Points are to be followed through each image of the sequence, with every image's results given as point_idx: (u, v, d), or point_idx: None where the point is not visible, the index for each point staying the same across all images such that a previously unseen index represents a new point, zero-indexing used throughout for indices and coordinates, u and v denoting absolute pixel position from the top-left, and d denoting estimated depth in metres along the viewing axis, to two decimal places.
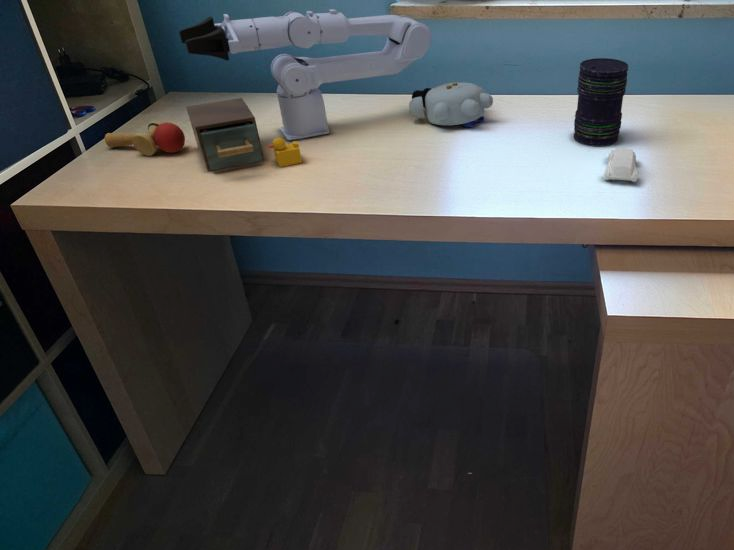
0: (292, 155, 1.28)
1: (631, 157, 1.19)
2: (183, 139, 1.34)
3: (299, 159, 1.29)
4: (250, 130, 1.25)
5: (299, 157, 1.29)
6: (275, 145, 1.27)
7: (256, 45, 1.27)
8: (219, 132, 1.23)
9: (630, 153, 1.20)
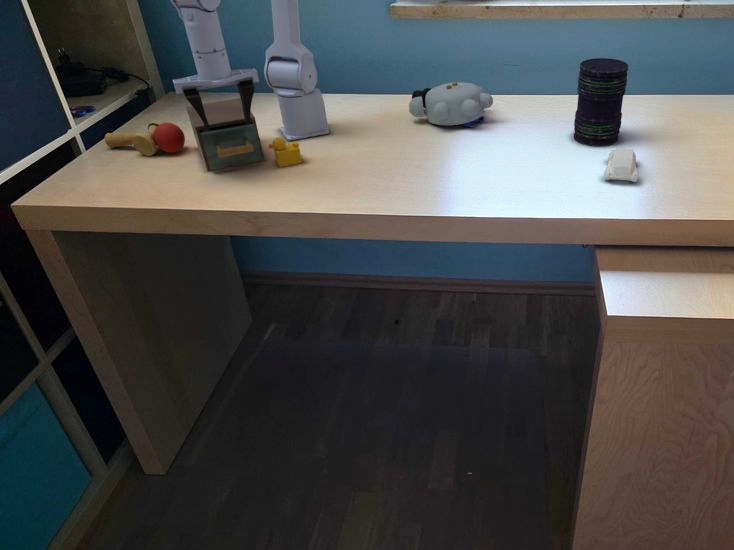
0: (292, 155, 1.28)
1: (631, 157, 1.19)
2: (183, 139, 1.34)
3: (299, 159, 1.29)
4: (250, 130, 1.25)
5: (299, 157, 1.29)
6: (275, 145, 1.27)
7: None
8: (219, 132, 1.23)
9: (630, 153, 1.20)
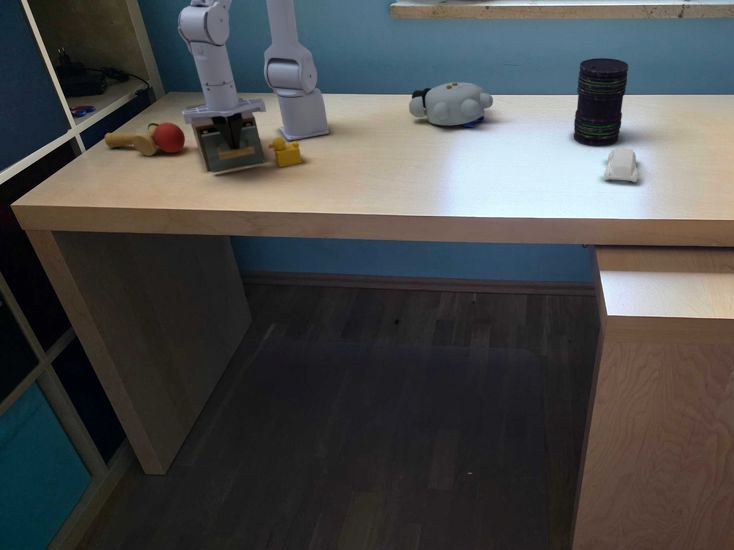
0: (292, 155, 1.28)
1: (631, 157, 1.19)
2: (183, 139, 1.34)
3: (299, 159, 1.29)
4: (251, 131, 1.24)
5: (299, 157, 1.29)
6: (275, 145, 1.27)
7: None
8: (220, 134, 1.22)
9: (630, 153, 1.20)
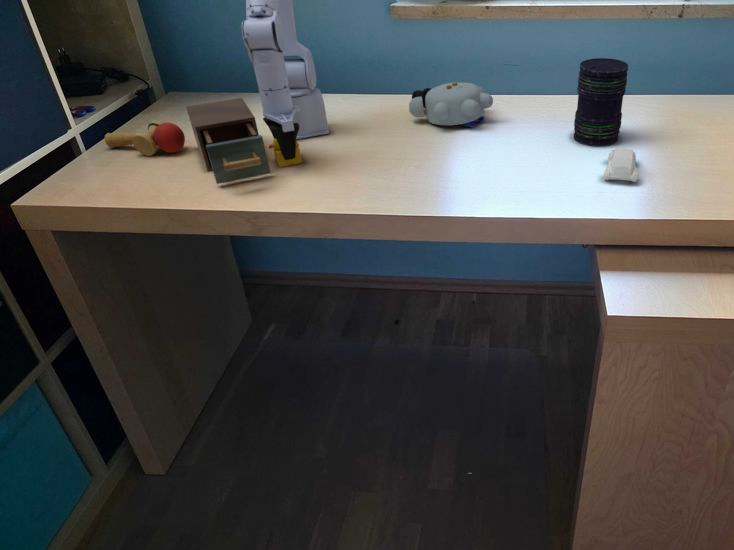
0: None
1: (631, 157, 1.19)
2: (183, 139, 1.34)
3: (299, 159, 1.30)
4: (257, 141, 1.20)
5: (299, 157, 1.29)
6: (275, 145, 1.27)
7: None
8: (225, 144, 1.18)
9: (629, 153, 1.20)
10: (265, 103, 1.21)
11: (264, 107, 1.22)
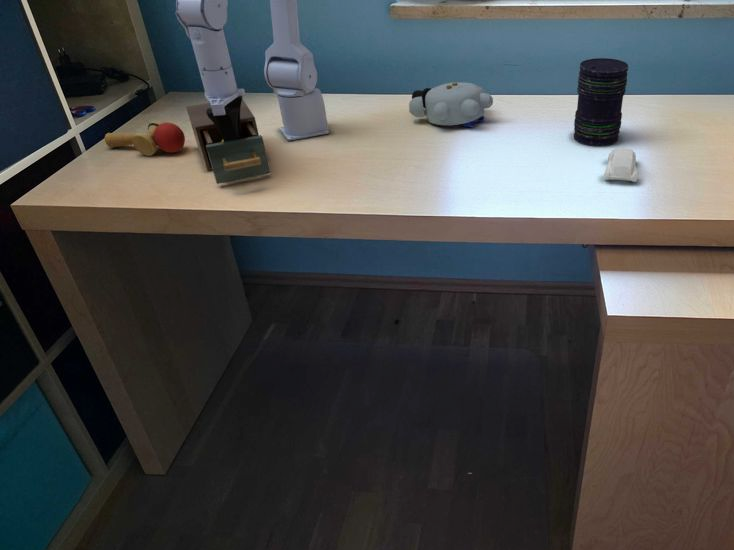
0: None
1: (631, 157, 1.19)
2: (183, 139, 1.34)
3: None
4: (257, 141, 1.20)
5: None
6: None
7: None
8: (225, 144, 1.18)
9: (629, 153, 1.20)
10: (204, 83, 1.14)
11: (204, 87, 1.15)
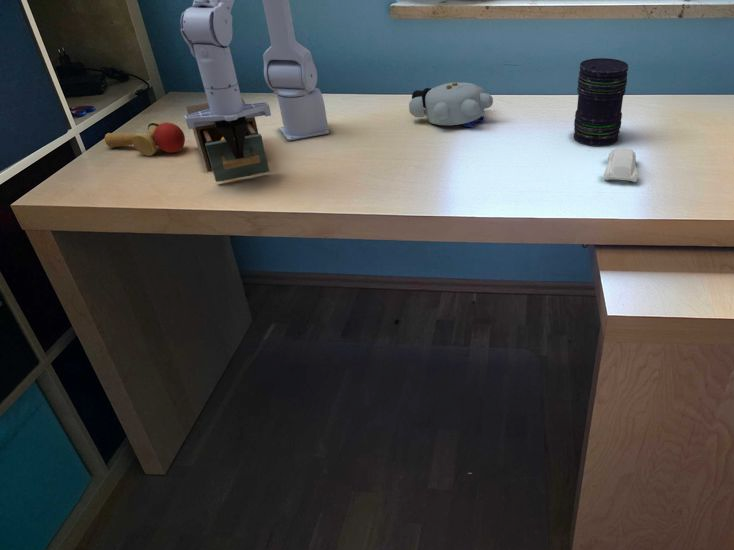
0: None
1: (631, 157, 1.19)
2: (183, 139, 1.34)
3: None
4: (256, 140, 1.20)
5: None
6: None
7: None
8: (224, 143, 1.18)
9: (629, 153, 1.20)
10: None
11: None
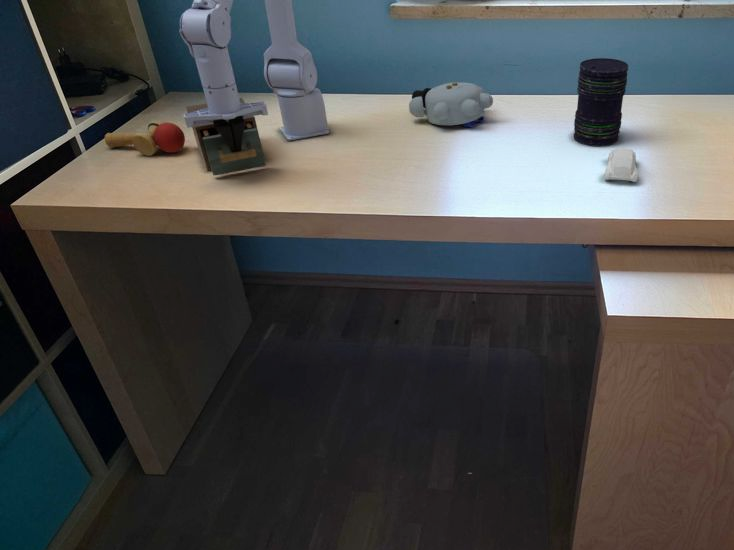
0: None
1: (631, 157, 1.19)
2: (183, 139, 1.34)
3: None
4: (253, 134, 1.23)
5: None
6: None
7: None
8: (221, 137, 1.21)
9: (629, 153, 1.20)
10: None
11: None
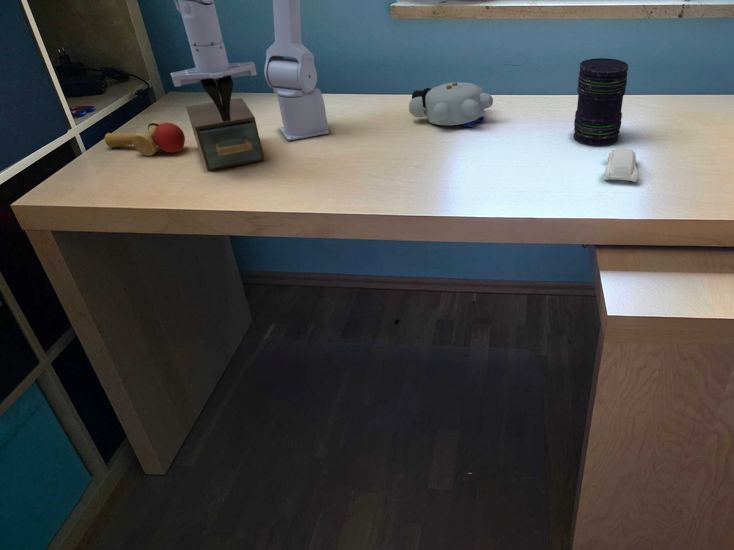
0: None
1: (631, 157, 1.19)
2: (183, 139, 1.34)
3: None
4: (249, 128, 1.25)
5: None
6: None
7: None
8: (218, 130, 1.23)
9: (629, 153, 1.20)
10: None
11: None
